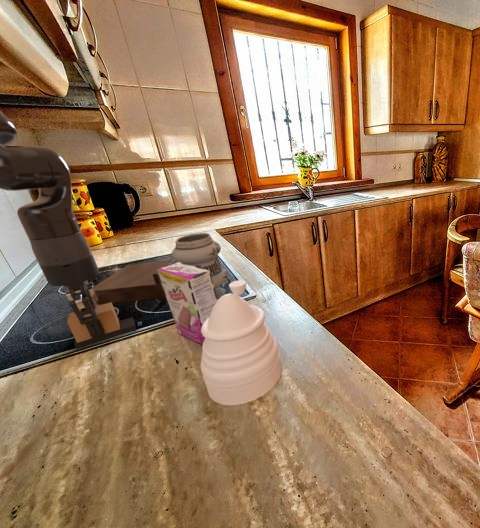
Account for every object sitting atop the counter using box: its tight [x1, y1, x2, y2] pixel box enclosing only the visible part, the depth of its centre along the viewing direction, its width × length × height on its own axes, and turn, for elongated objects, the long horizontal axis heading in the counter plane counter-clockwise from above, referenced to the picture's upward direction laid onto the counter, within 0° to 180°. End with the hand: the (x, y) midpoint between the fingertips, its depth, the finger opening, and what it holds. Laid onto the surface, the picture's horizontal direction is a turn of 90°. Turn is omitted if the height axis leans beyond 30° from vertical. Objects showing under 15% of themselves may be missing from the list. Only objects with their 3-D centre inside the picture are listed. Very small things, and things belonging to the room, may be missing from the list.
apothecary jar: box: [171, 232, 229, 300], centre depth 77 cm, size 12×12×18 cm
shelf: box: [94, 257, 178, 305], centre depth 83 cm, size 18×20×9 cm
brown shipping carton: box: [66, 302, 137, 350], centre depth 60 cm, size 10×5×6 cm, turn 130°
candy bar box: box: [157, 262, 218, 346], centre depth 59 cm, size 11×5×16 cm, turn 61°
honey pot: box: [199, 279, 283, 406], centre depth 47 cm, size 13×13×18 cm
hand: (98, 330), depth 60 cm, fingers closed on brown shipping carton, 4 cm apart
